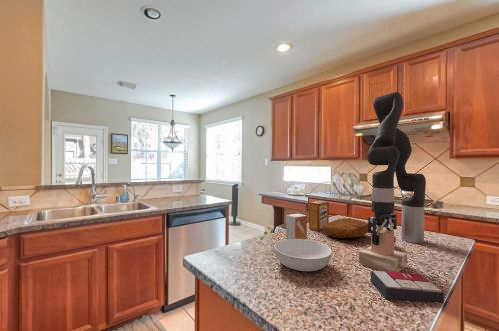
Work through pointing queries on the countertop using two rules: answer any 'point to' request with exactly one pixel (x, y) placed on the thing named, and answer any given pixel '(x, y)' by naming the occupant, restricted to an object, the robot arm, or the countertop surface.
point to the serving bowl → (302, 254)
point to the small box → (296, 226)
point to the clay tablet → (346, 228)
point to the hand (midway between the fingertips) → (382, 242)
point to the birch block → (383, 260)
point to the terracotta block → (384, 243)
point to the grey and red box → (406, 287)
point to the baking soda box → (318, 215)
